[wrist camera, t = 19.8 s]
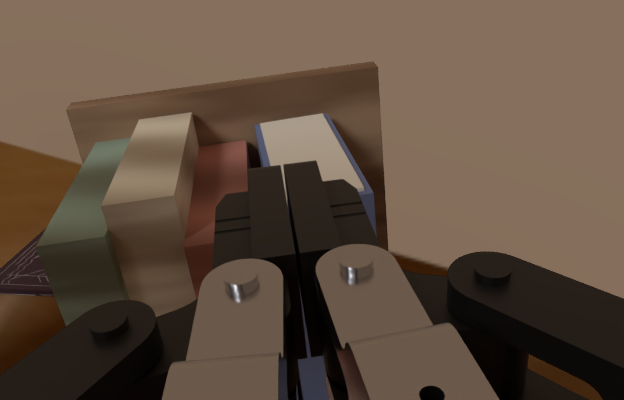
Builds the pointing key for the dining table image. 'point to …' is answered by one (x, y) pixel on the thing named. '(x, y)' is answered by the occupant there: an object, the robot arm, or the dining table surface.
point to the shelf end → (184, 179)
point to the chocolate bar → (25, 273)
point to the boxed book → (332, 165)
